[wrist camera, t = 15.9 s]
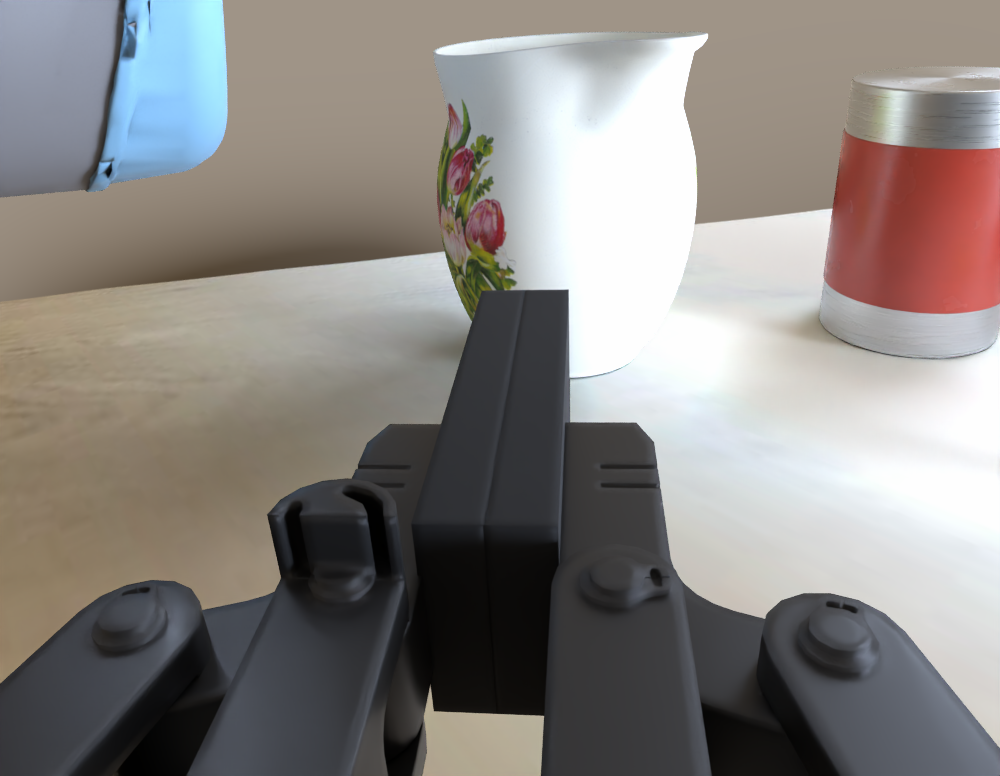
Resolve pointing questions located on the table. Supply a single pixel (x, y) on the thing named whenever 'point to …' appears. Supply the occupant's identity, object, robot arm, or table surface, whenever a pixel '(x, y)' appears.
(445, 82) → the pitcher
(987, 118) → the tin can
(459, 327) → the table surface
